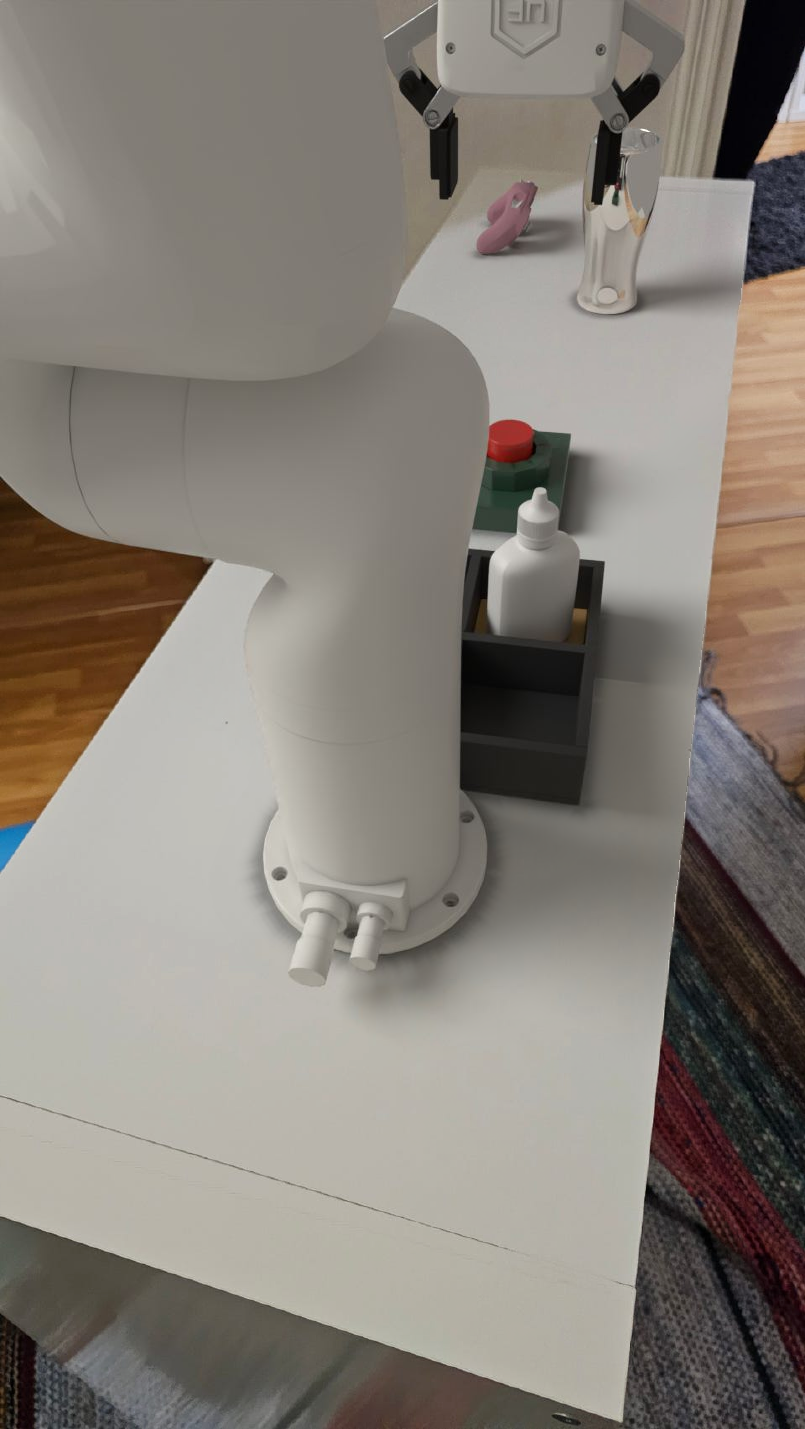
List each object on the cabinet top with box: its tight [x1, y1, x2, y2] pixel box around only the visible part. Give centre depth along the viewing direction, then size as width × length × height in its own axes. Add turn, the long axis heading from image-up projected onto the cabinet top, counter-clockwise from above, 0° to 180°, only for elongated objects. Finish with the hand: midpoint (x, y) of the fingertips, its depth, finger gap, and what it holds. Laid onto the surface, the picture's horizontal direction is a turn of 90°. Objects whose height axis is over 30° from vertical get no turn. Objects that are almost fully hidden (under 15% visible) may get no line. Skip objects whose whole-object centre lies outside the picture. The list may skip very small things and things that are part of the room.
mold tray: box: [460, 548, 606, 806], centre depth 62 cm, size 17×17×5 cm
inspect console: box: [472, 428, 572, 534], centre depth 76 cm, size 11×9×4 cm
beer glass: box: [576, 126, 664, 315], centre depth 93 cm, size 7×7×15 cm
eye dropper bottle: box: [486, 487, 581, 642], centre depth 60 cm, size 4×6×12 cm
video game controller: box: [475, 177, 539, 255], centre depth 107 cm, size 10×5×7 cm, turn 168°
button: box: [487, 419, 534, 463], centre depth 74 cm, size 4×4×2 cm
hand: (522, 194), depth 61 cm, fingers open, 9 cm apart
